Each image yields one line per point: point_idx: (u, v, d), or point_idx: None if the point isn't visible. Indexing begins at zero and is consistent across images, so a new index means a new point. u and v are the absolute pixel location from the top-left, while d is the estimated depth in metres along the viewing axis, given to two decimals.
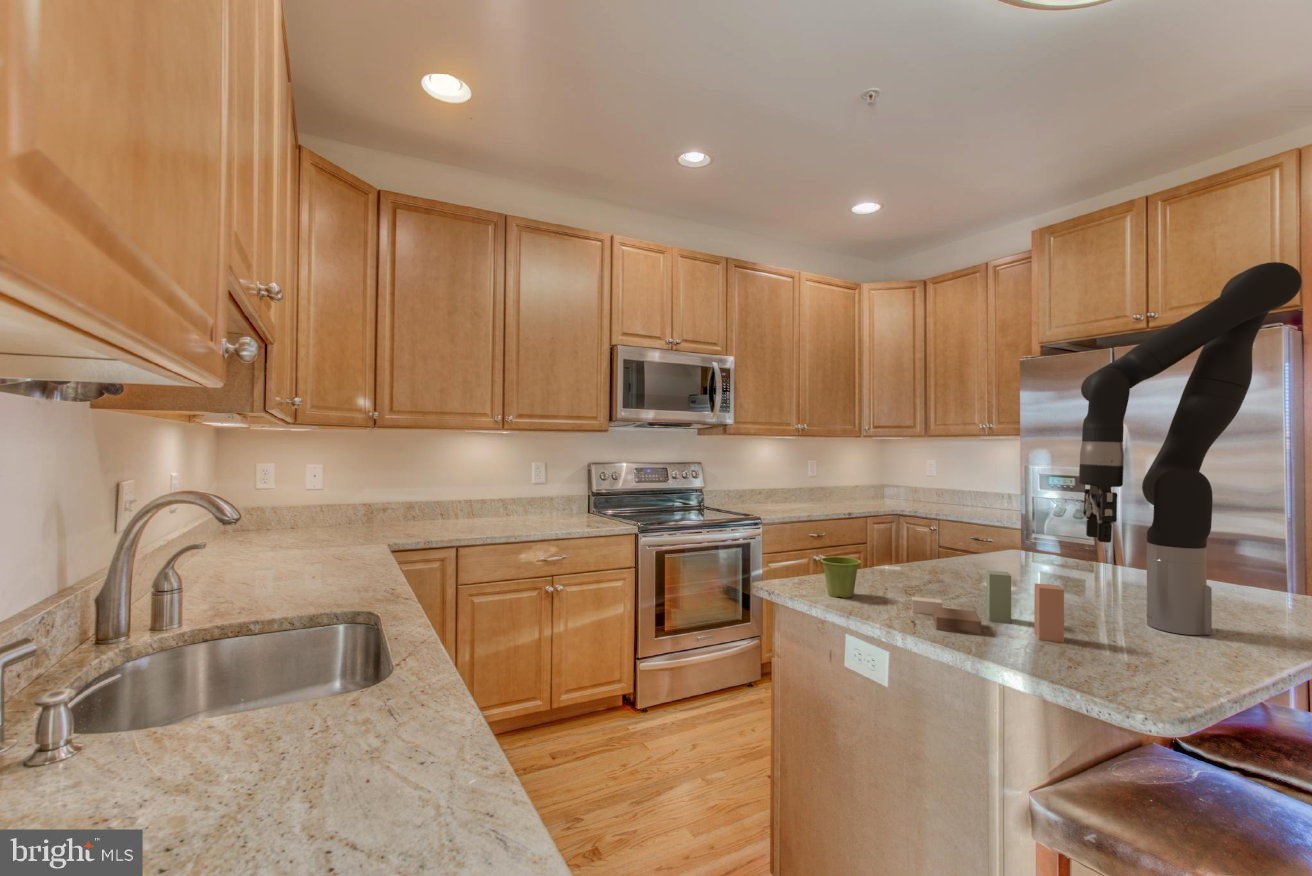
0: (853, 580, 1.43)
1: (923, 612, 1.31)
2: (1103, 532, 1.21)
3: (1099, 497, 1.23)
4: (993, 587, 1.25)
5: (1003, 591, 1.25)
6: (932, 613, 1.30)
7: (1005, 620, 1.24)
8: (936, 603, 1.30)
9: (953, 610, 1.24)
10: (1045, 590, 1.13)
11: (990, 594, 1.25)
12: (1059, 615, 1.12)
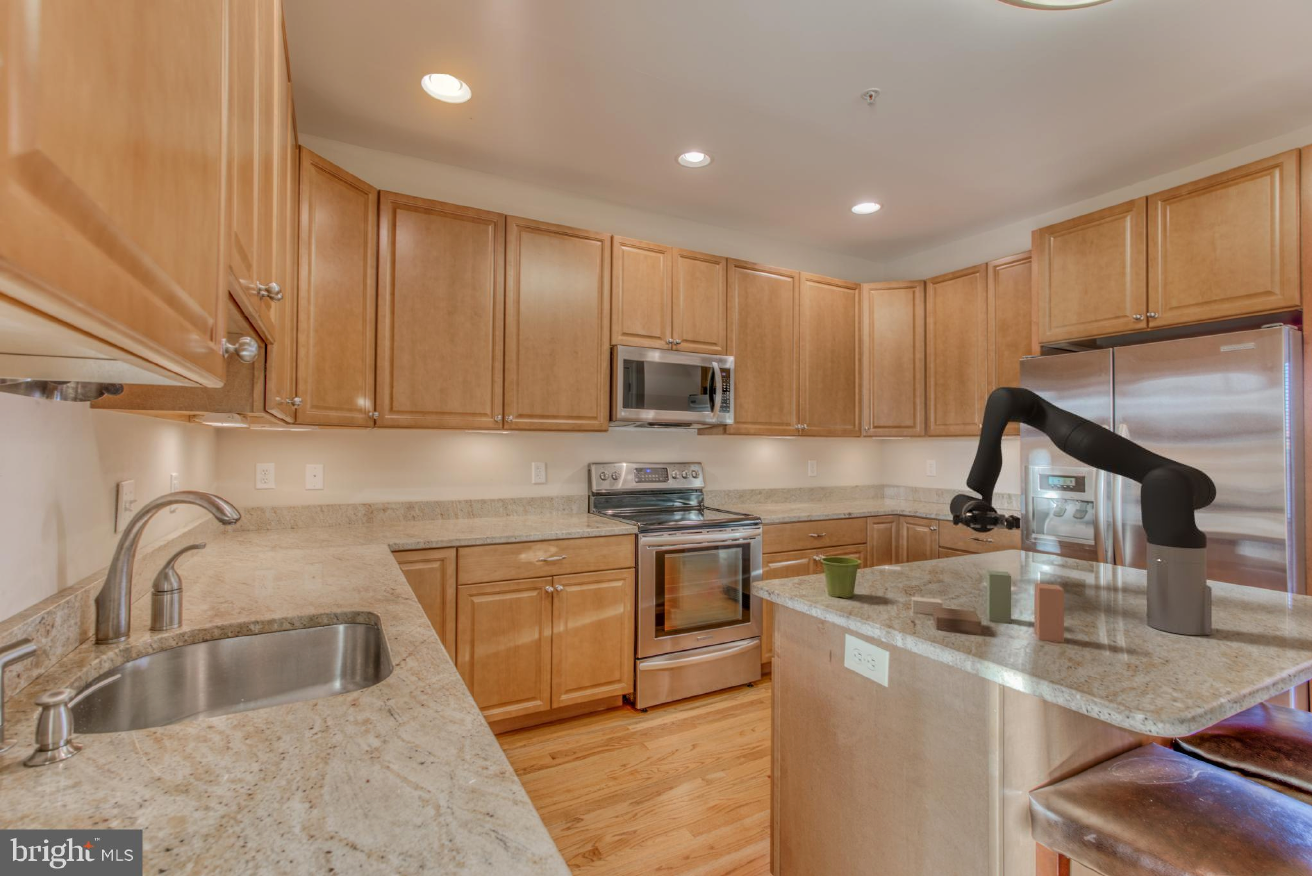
0: (853, 580, 1.43)
1: (924, 612, 1.31)
2: (963, 523, 1.41)
3: None
4: (993, 587, 1.25)
5: (1003, 591, 1.25)
6: (932, 613, 1.30)
7: (1005, 620, 1.24)
8: (936, 603, 1.30)
9: (953, 610, 1.24)
10: (1045, 590, 1.13)
11: (990, 594, 1.26)
12: (1059, 615, 1.12)
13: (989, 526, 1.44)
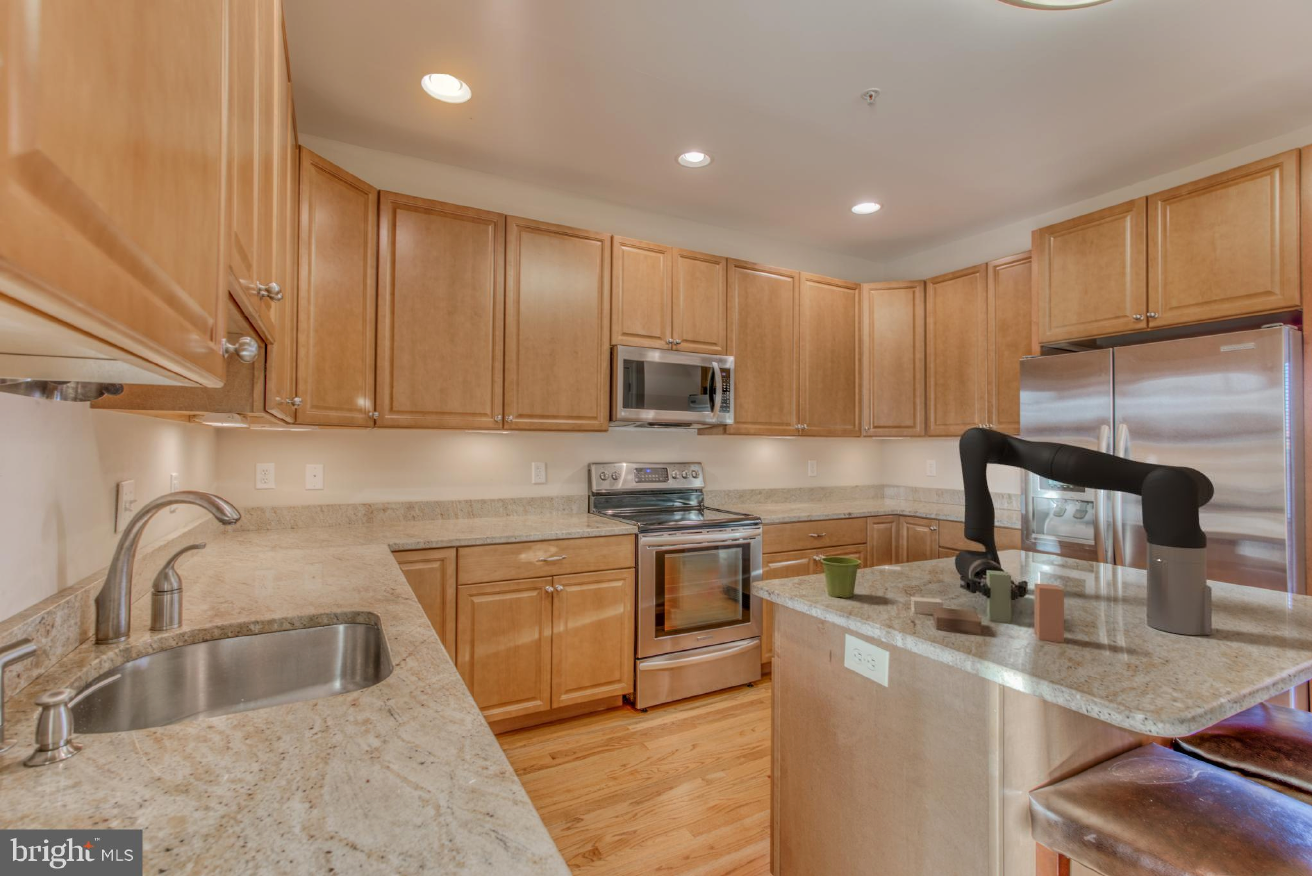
0: (853, 580, 1.43)
1: (925, 612, 1.30)
2: (981, 592, 1.27)
3: None
4: (993, 587, 1.25)
5: (1003, 591, 1.25)
6: None
7: (1005, 620, 1.24)
8: (937, 603, 1.30)
9: (953, 610, 1.24)
10: (1045, 590, 1.13)
11: None
12: (1059, 615, 1.12)
13: None
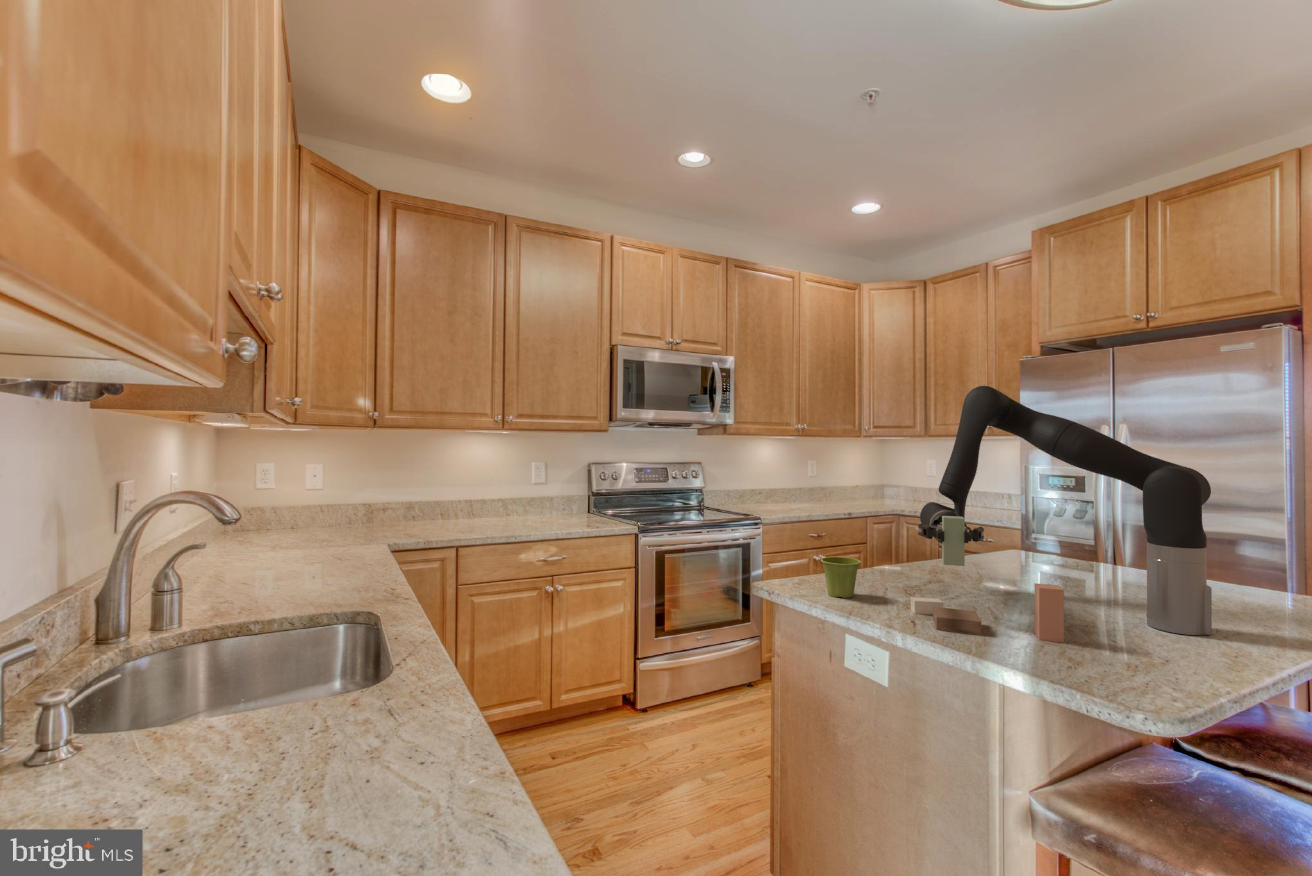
0: (853, 580, 1.43)
1: (925, 613, 1.30)
2: (936, 537, 1.28)
3: None
4: (947, 531, 1.26)
5: (956, 535, 1.25)
6: None
7: (959, 563, 1.25)
8: (937, 603, 1.30)
9: (953, 610, 1.24)
10: (1045, 590, 1.13)
11: (944, 538, 1.26)
12: (1059, 615, 1.12)
13: None
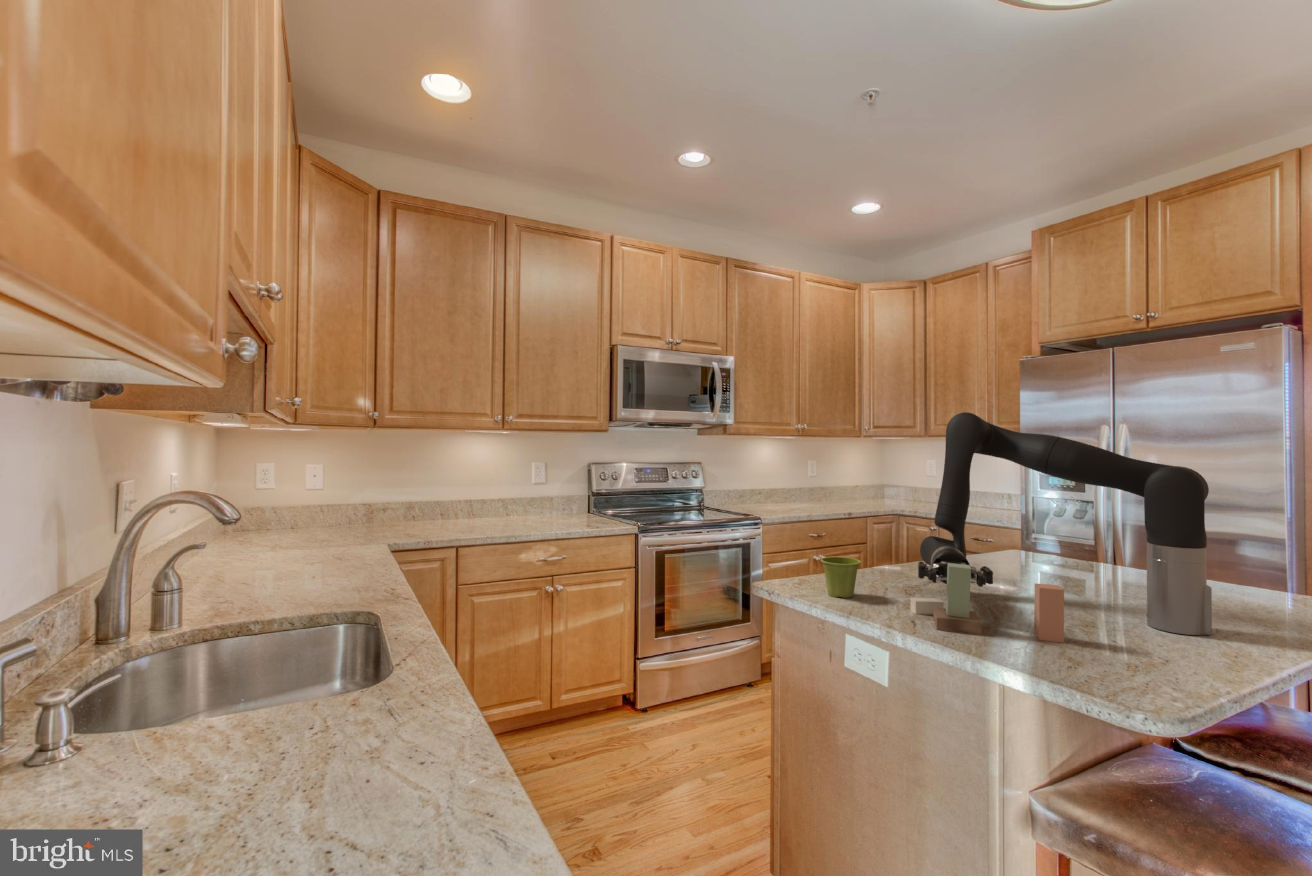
0: (853, 580, 1.43)
1: (926, 613, 1.30)
2: (928, 577, 1.24)
3: None
4: (952, 580, 1.20)
5: (962, 585, 1.19)
6: None
7: (963, 615, 1.19)
8: (938, 603, 1.30)
9: None
10: (1045, 590, 1.13)
11: (949, 587, 1.20)
12: (1059, 615, 1.12)
13: None
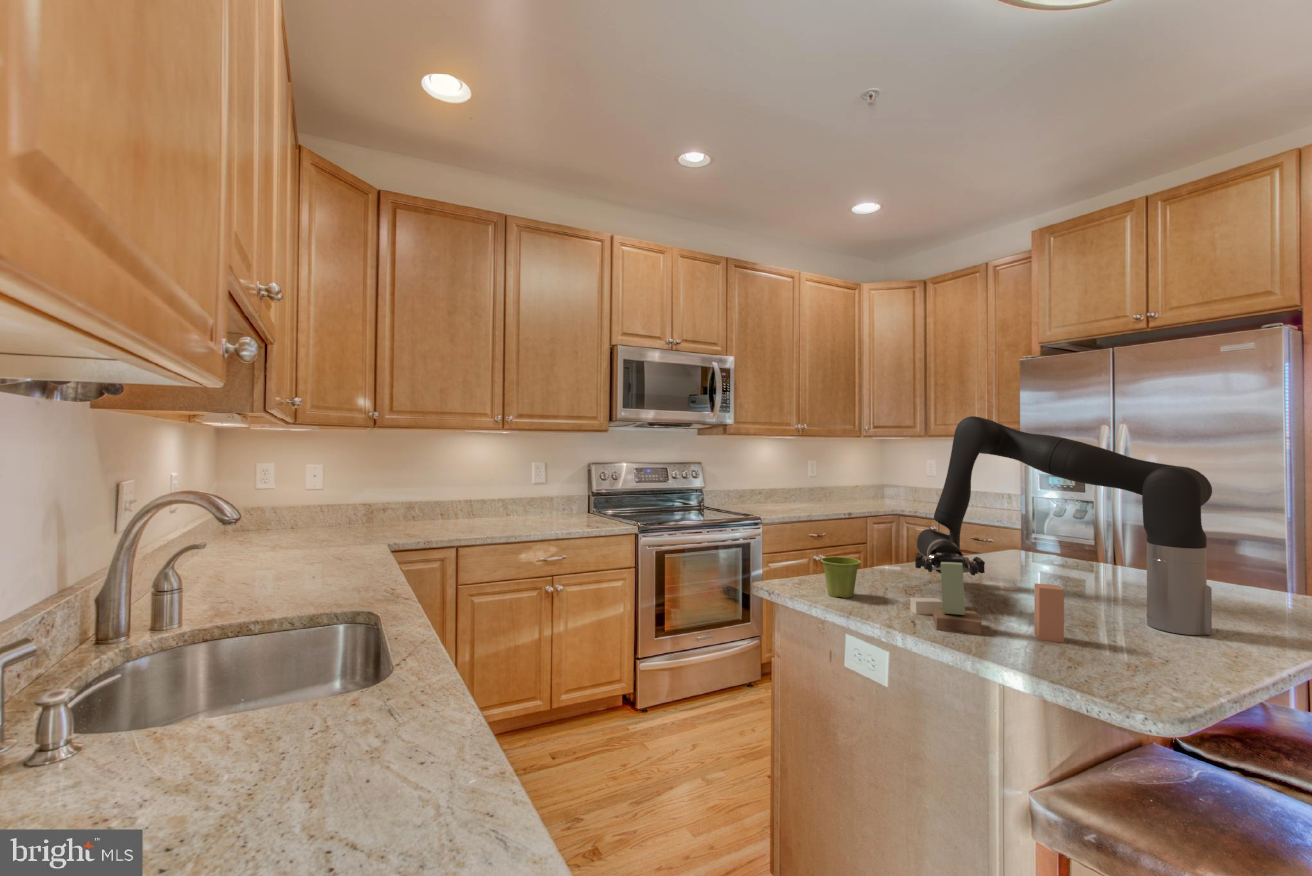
0: (853, 580, 1.43)
1: (926, 613, 1.30)
2: (924, 567, 1.34)
3: None
4: (945, 577, 1.22)
5: (955, 581, 1.21)
6: None
7: (959, 612, 1.20)
8: (938, 602, 1.30)
9: None
10: (1045, 590, 1.13)
11: (942, 585, 1.22)
12: (1059, 615, 1.12)
13: None
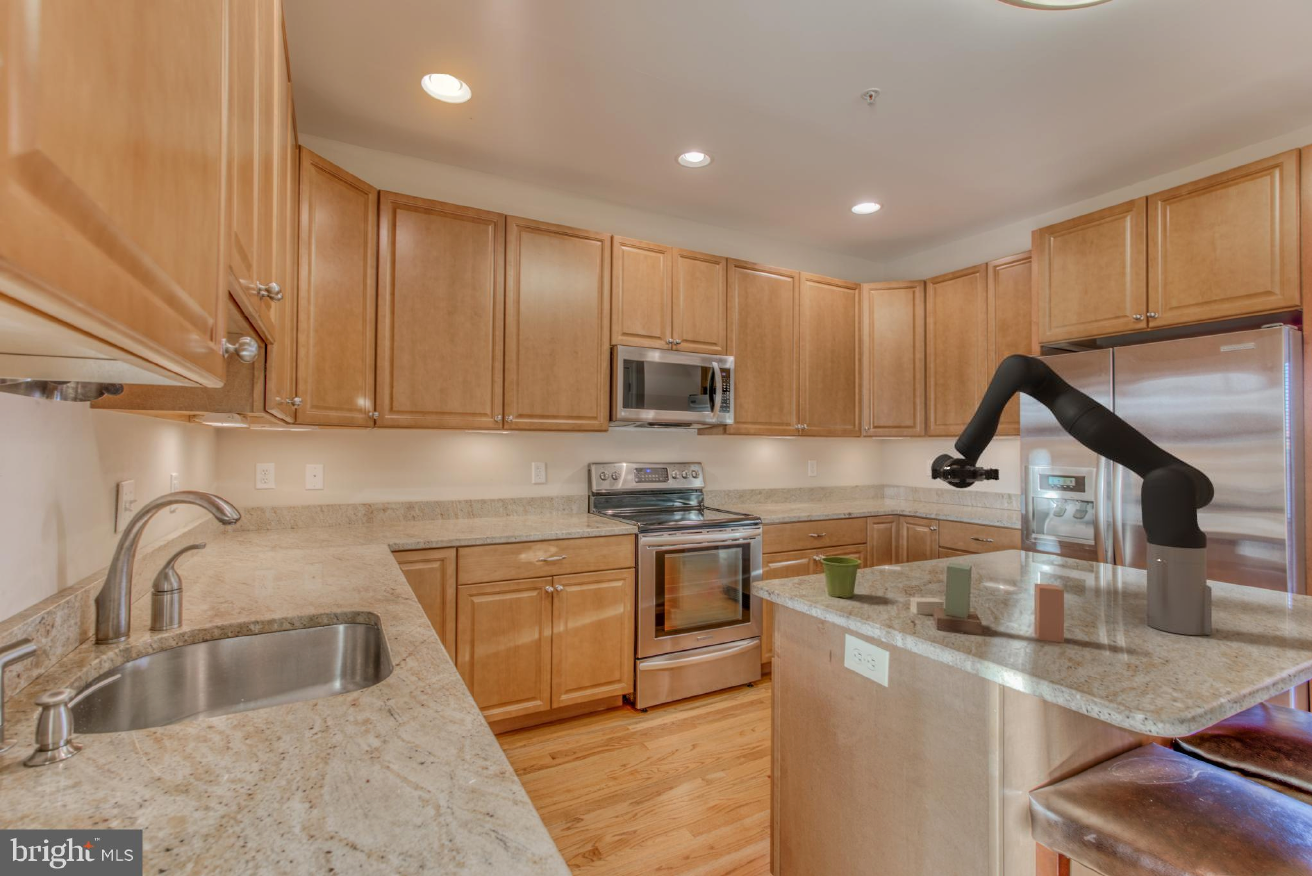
0: (853, 580, 1.43)
1: (927, 613, 1.30)
2: (941, 476, 1.39)
3: None
4: (950, 580, 1.20)
5: (959, 585, 1.19)
6: None
7: (961, 615, 1.19)
8: (938, 602, 1.30)
9: None
10: (1045, 590, 1.13)
11: (947, 587, 1.21)
12: (1059, 615, 1.12)
13: (968, 480, 1.42)
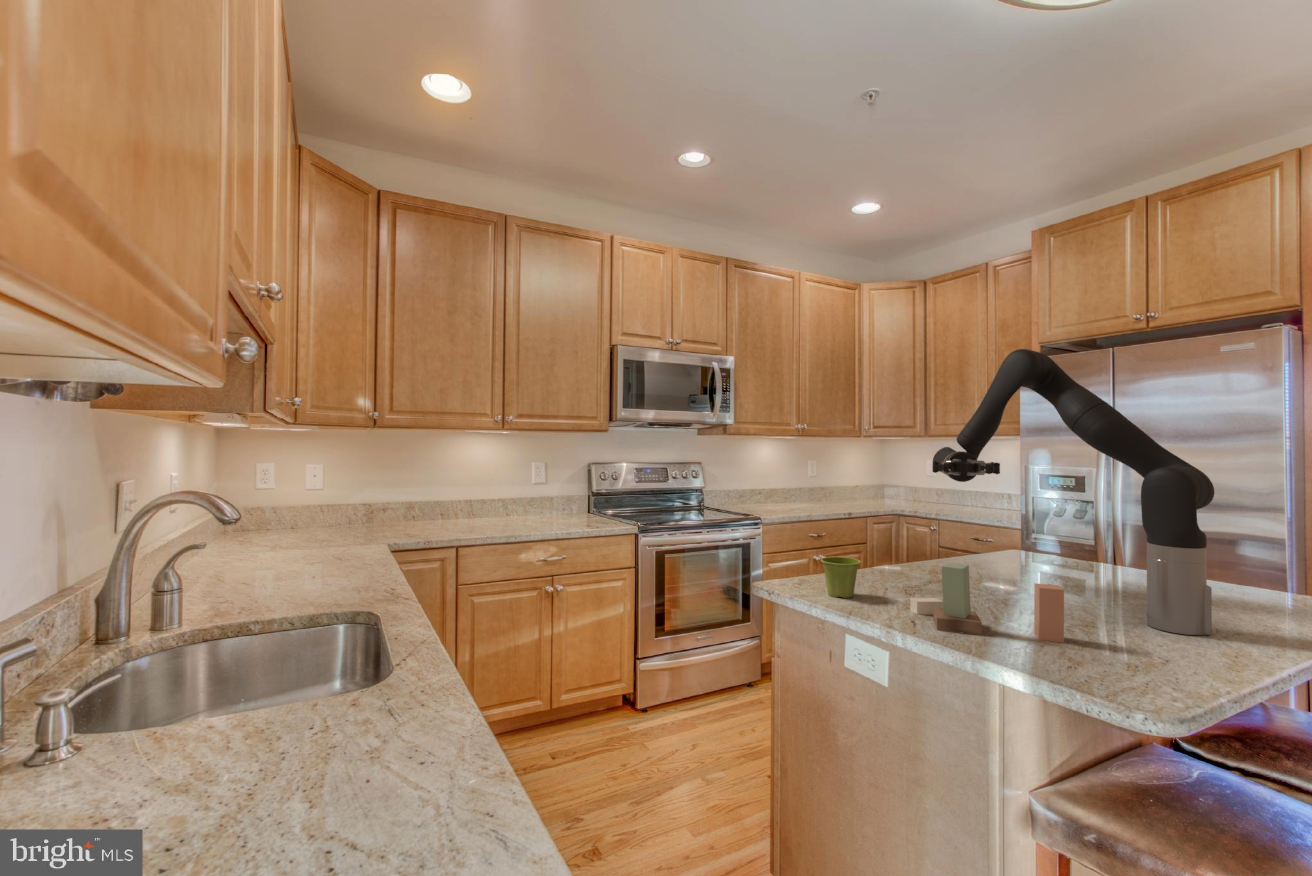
0: (853, 580, 1.43)
1: (927, 613, 1.30)
2: None
3: None
4: (946, 580, 1.21)
5: (955, 585, 1.20)
6: None
7: (959, 615, 1.19)
8: (938, 602, 1.30)
9: None
10: (1045, 590, 1.13)
11: (943, 587, 1.21)
12: (1059, 615, 1.12)
13: (969, 473, 1.43)
